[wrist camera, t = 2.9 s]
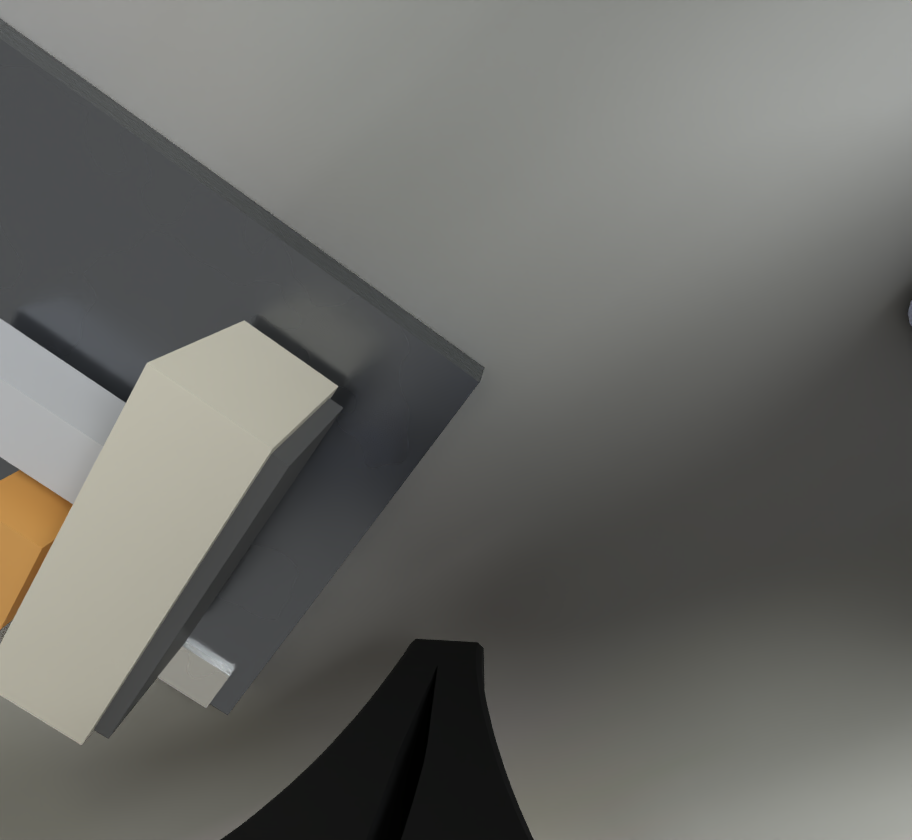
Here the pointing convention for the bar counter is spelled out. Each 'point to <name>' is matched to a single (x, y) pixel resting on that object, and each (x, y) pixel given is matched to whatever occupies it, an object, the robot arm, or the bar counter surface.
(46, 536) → the orange stepped block
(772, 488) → the bar counter surface
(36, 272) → the plate
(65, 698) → the cream and grey block
